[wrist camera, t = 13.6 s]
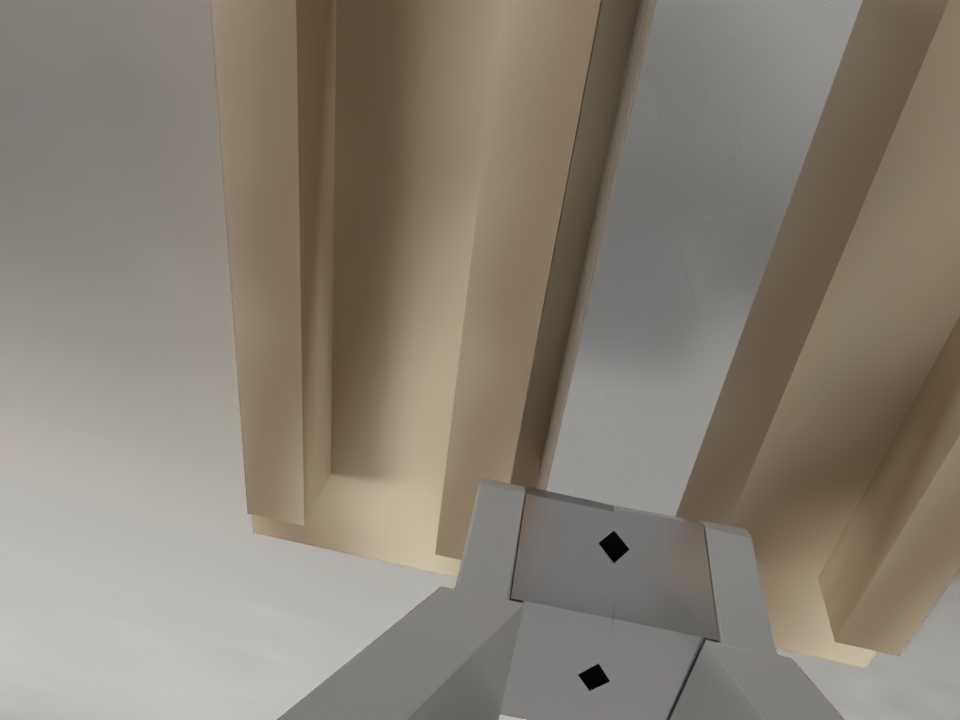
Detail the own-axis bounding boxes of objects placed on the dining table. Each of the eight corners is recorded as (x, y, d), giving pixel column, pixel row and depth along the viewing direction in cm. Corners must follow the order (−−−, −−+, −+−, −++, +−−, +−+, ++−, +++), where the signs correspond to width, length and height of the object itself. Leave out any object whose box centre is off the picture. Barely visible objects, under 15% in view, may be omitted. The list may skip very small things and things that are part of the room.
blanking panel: (656, -78, 13) (670, -55, 8) (776, -61, 12) (871, -25, 7) (540, 462, 19) (506, 666, 14) (618, 478, 19) (612, 690, 14)
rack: (266, 509, 23) (222, 584, 21) (210, -544, 11) (89, -668, 9) (857, 638, 22) (885, 735, 19) (1517, -416, 10) (1818, -519, 7)
